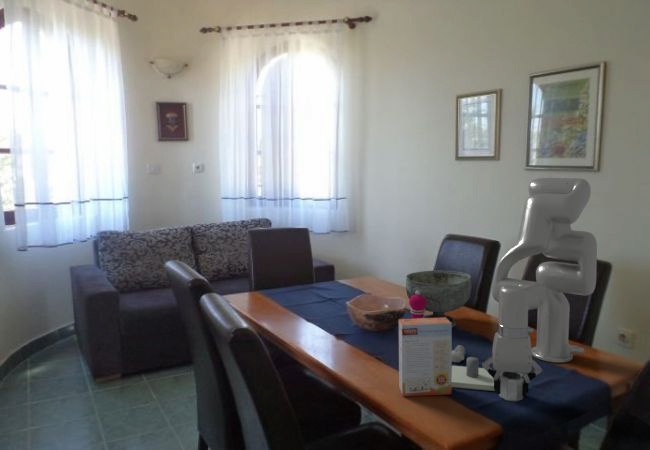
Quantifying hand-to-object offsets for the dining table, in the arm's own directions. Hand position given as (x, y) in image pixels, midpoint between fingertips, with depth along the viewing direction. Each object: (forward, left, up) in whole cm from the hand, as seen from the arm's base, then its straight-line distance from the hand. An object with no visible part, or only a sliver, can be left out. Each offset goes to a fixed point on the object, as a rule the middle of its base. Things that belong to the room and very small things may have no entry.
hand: (510, 392), depth 139 cm
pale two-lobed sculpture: (+14, -23, -1) cm, 27 cm away
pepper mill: (+28, -33, -1) cm, 43 cm away
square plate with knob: (+10, -8, -1) cm, 13 cm away
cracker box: (+23, +2, -1) cm, 24 cm away
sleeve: (0, 0, -1) cm, 1 cm away
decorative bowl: (+22, -59, -1) cm, 63 cm away
